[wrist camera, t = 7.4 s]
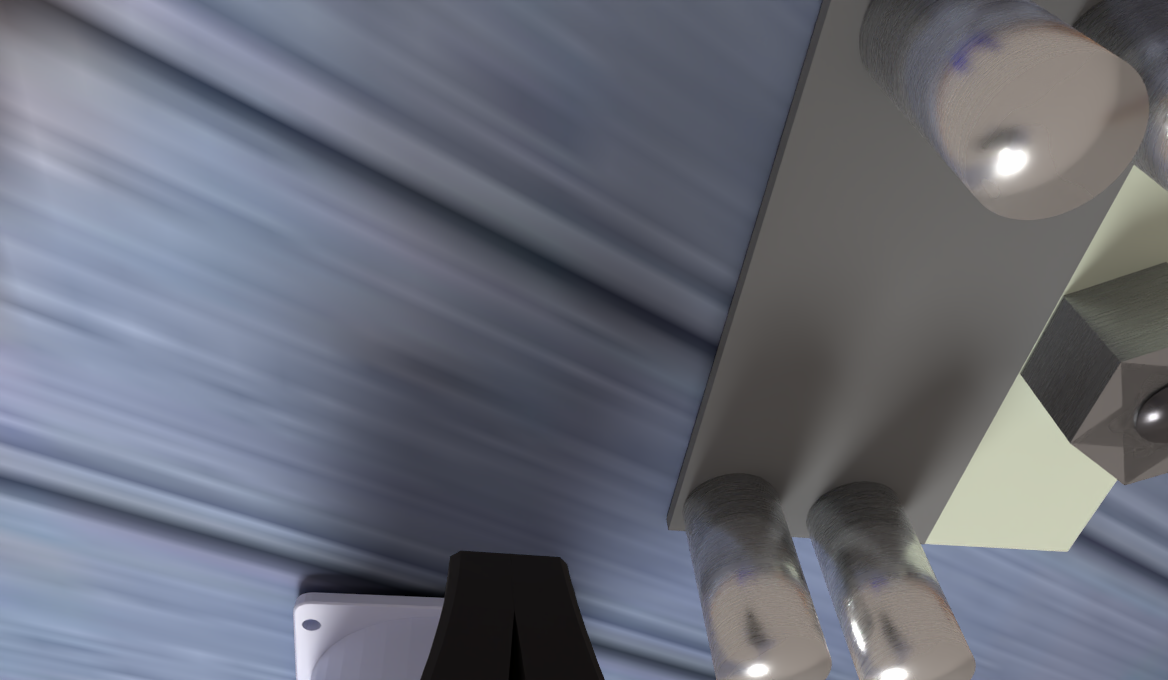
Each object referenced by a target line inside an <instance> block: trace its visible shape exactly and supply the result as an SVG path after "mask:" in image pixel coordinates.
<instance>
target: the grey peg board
mask: <svg viewBox="0 0 1168 680" xmlns="http://www.w3.org/2000/svg"><path fill="white" fill-rule="evenodd" d="M859 51H860V57H861V60H862V63H863V65H864V68H865V70H866V71H867V73H868V74H869V76H870V77H871V78H872V79H873V81H874V82H875V83H876V84H877V85H878V86H879V87H880V89H881V90H882V91H883V92H884V93H885V94H886V95H887V97H888V98H889V99H890V100H891V101H892V102H893V103H894V105H895V106H896V107H897V108H898V109H899V110H900V111H901V113H902V114H903V115H904V116H905V117H906V118H907V119H908V121H909V122H910V123H911V124H912V125H913V126H914V127H915V129H916V130H917V131H918V132H919V133H920V134H921V135H922V137H923V138H924V139H925V140H926V141H927V142H928V143H929V145H930V146H931V147H932V148H933V149H934V150H935V151H936V153H937V154H938V155H939V156H940V157H941V158H942V159H943V161H944V162H945V163H946V164H947V165H948V166H949V167H950V169H951V170H952V171H953V172H954V173H955V174H956V175H957V177H958V178H959V179H960V180H961V181H962V182H963V183H964V185H965V186H966V187H967V188H968V189H969V190H970V191H971V193H972V194H973V195H974V196H975V197H976V198H977V199H978V201H979V202H980V203H981V204H982V205H983V206H985V207H986V208H987V209H989V210H990V211H992V212H994V213H996V214H998V215H1000V216H1003V217H1006V218H1011V219H1016V220H1038V219H1044V218H1050V217H1053V216H1057V215H1060V214H1063V213H1065V212H1068V211H1071V210H1073V209H1075V208H1077V207H1079V206H1081V205H1083V204H1085V203H1086V202H1088V201H1089V200H1091V199H1093V198H1094V197H1096V196H1097V195H1098V194H1100V193H1101V192H1102V191H1104V190H1105V189H1106V188H1107V187H1108V186H1109V185H1110V184H1111V183H1113V182H1114V181H1115V180H1116V179H1117V177H1118V176H1119V175H1120V174H1121V173H1122V172H1123V171H1124V170H1125V168H1126V167H1127V166H1128V164H1129V163H1130V162H1131V163H1132V164H1134V165H1135V166H1136V167H1137V168H1139V169H1140V170H1141V171H1142V172H1144V173H1145V174H1146V175H1147V176H1149V177H1150V178H1151V179H1152V180H1154V181H1155V182H1156V183H1157V184H1159V185H1160V186H1161V187H1162V188H1164V189H1165V190H1166V191H1167V192H1168V0H1102V1H1100V2H1098V3H1097V4H1096V5H1094V6H1093V7H1091V8H1090V9H1089V10H1088V11H1087V12H1085V13H1084V14H1083V15H1082V16H1081V17H1080V18H1079V19H1078V20H1077V21H1076V22H1075V23H1074V25H1073V26H1070V25H1068V24H1067V23H1065V22H1064V21H1062V20H1061V19H1059V18H1058V17H1056V16H1055V15H1053V14H1052V13H1050V12H1048V11H1047V10H1045V9H1044V8H1042V7H1041V6H1039V5H1038V4H1036V3H1035V2H1033V1H1031V0H871V2H870V4H869V6H868V8H867V10H866V12H865V14H864V17H863V20H862V23H861V27H860V33H859ZM682 514H683V520H684V525H685V530H686V535H687V539H688V544H689V549H690V554H691V559H692V563H693V568H694V573H695V578H696V583H697V588H698V592H699V597H700V602H701V607H702V612H703V616H704V621H705V626H706V631H707V636H708V641H709V645H710V650H711V655H712V660H713V665H714V669H715V674H716V679H717V680H825V679H826V678H827V676H828V674H829V672H830V670H831V665H832V664H831V657H830V654H829V651H828V648H827V645H826V642H825V639H824V636H823V632H822V629H821V626H820V623H819V620H818V617H817V614H816V611H815V608H814V605H813V602H812V599H811V596H810V593H809V590H808V587H807V583H806V580H805V577H804V574H803V571H802V568H801V565H800V562H799V559H798V556H797V553H796V550H795V547H794V544H793V541H792V537H791V534H790V531H789V528H788V525H787V522H786V519H785V516H784V513H783V510H782V507H781V504H780V501H779V498H778V495H777V492H776V490H775V488H774V487H773V486H772V485H771V484H770V483H769V482H768V481H766V480H765V479H763V478H761V477H758V476H755V475H751V474H745V473H732V474H725V475H721V476H717V477H714V478H712V479H709V480H707V481H705V482H704V483H702V484H700V485H699V486H698V487H696V488H695V489H694V490H693V491H692V492H691V493H690V494H689V496H688V497H687V499H686V500H685V503H684V505H683V511H682ZM806 527H807V530H808V533H809V536H810V539H811V542H812V545H813V547H814V550H815V553H816V556H817V559H818V562H819V565H820V568H821V570H822V573H823V576H824V579H825V582H826V585H827V588H828V591H829V593H830V596H831V599H832V602H833V605H834V608H835V611H836V614H837V617H838V619H839V622H840V625H841V628H842V631H843V634H844V637H845V640H846V642H847V645H848V648H849V651H850V654H851V657H852V660H853V663H854V665H855V668H856V671H857V674H858V677H859V680H970V679H971V678H972V676H973V674H974V671H975V666H976V665H975V660H974V657H973V655H972V653H971V651H970V649H969V646H968V644H967V642H966V640H965V638H964V636H963V634H962V632H961V629H960V627H959V625H958V623H957V621H956V619H955V617H954V614H953V612H952V610H951V608H950V606H949V604H948V602H947V600H946V597H945V595H944V593H943V591H942V589H941V587H940V585H939V583H938V580H937V578H936V576H935V574H934V572H933V570H932V568H931V566H930V563H929V561H928V559H927V557H926V555H925V553H924V551H923V548H922V546H921V544H920V542H919V540H918V538H917V536H916V534H915V531H914V529H913V527H912V525H911V523H910V521H909V519H908V517H907V514H906V512H905V510H904V508H903V506H902V504H901V502H900V499H899V497H898V496H897V494H896V493H895V492H894V491H893V490H892V489H891V488H889V487H887V486H886V485H883V484H880V483H876V482H868V481H862V482H853V483H848V484H844V485H841V486H839V487H836V488H834V489H832V490H830V491H828V492H827V493H825V494H824V495H822V496H821V497H820V498H819V499H818V500H817V501H816V502H815V503H814V504H813V505H812V507H811V508H810V510H809V512H808V514H807V518H806Z"/></svg>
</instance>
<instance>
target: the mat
mask: <svg viewBox="0 0 1168 680" xmlns="http://www.w3.org/2000/svg"><path fill="white" fill-rule="evenodd" d="M1031 1H1033V2H1035V3H1036V4H1038V5H1039V6H1041V7H1042V8H1044V9H1045V10H1047V11H1048V12H1050V13H1052V14H1053V15H1055V16H1056V17H1058V18H1059V19H1061V20H1062V21H1064V22H1065V23H1067V24H1068V25H1070V26H1073V25H1074V23H1075V22H1076V21H1077V20H1078V19H1079V18H1080V17H1081V16H1082V15H1083V14H1084V13H1085V12H1087V11H1088V10H1089V9H1090V8H1091V7H1093V6H1094V5H1096V4H1097V3H1098V2H1100V1H1102V0H1031ZM870 2H871V0H823V2H822V5H821V9H820V12H819V15H818V19H817V22H816V25H815V29H814V32H813V35H812V39H811V42H810V45H809V49H808V52H807V55H806V58H805V62H804V65H803V68H802V72H801V75H800V78H799V82H798V85H797V88H796V92H795V95H794V98H793V102H792V105H791V108H790V111H789V115H788V118H787V121H786V125H785V128H784V131H783V135H782V138H781V141H780V145H779V148H778V151H777V154H776V158H775V161H774V164H773V168H772V171H771V174H770V178H769V181H768V184H767V188H766V191H765V194H764V198H763V201H762V204H761V207H760V211H759V214H758V217H757V221H756V224H755V227H754V231H753V234H752V237H751V241H750V244H749V247H748V250H747V254H746V257H745V260H744V264H743V267H742V270H741V274H740V277H739V280H738V284H737V287H736V290H735V294H734V297H733V300H732V303H731V307H730V310H729V313H728V317H727V320H726V323H725V327H724V330H723V333H722V337H721V340H720V343H719V347H718V350H717V353H716V356H715V360H714V363H713V366H712V370H711V373H710V376H709V380H708V383H707V386H706V390H705V393H704V396H703V399H702V403H701V406H700V409H699V413H698V416H697V419H696V423H695V426H694V429H693V433H692V436H691V439H690V443H689V446H688V449H687V452H686V456H685V459H684V462H683V466H682V469H681V472H680V476H679V479H678V482H677V486H676V489H675V492H674V496H673V499H672V502H671V505H670V509H669V512H668V515H667V519H666V520H667V525H668V530H675V531H686V530H685V525H684V520H683V514H682V511H683V505H684V503H685V500H686V499H687V497H688V496H689V494H690V493H691V492H692V491H693V490H694V489H695V488H696V487H698V486H699V485H700V484H702V483H704V482H705V481H707V480H709V479H712V478H714V477H717V476H721V475H725V474H732V473H745V474H751V475H755V476H758V477H761V478H763V479H765V480H766V481H768V482H769V483H770V484H771V485H772V486H773V487H774V488H775V490H776V492H777V495H778V498H779V501H780V504H781V507H782V510H783V513H784V516H785V519H786V522H787V525H788V528H789V531H790V534H791V537H802V538H810V536H809V533H808V530H807V527H806V518H807V514H808V512H809V510H810V508H811V507H812V505H813V504H814V503H815V502H816V501H817V500H818V499H819V498H820V497H821V496H822V495H824V494H825V493H827V492H828V491H830V490H832V489H834V488H836V487H839V486H841V485H844V484H848V483H853V482H862V481H868V482H876V483H880V484H883V485H886V486H887V487H889V488H891V489H892V490H893V491H894V492H895V493H896V494H897V496H898V497H899V499H900V502H901V504H902V506H903V508H904V510H905V512H906V514H907V517H908V519H909V521H910V523H911V525H912V527H913V529H914V531H915V534H916V536H917V538H918V540H919V542H920V544H938V545H956V546H974V547H992V548H1010V549H1028V550H1046V551H1064V552H1068V550H1069V549H1070V547H1071V546H1072V544H1073V543H1074V541H1075V540H1076V539H1077V537H1078V536H1079V534H1080V533H1081V531H1082V530H1083V528H1084V527H1085V526H1086V524H1087V523H1088V521H1089V520H1090V518H1091V517H1092V515H1093V514H1094V513H1095V511H1096V510H1097V508H1098V507H1099V505H1100V504H1101V502H1102V501H1103V500H1104V498H1105V497H1106V495H1107V494H1108V492H1109V491H1110V489H1111V488H1112V487H1113V485H1114V484H1115V482H1116V481H1117V479H1116V478H1115V477H1113V476H1112V475H1111V474H1109V473H1108V472H1107V471H1105V470H1104V469H1103V468H1102V467H1100V466H1099V465H1098V464H1096V463H1095V462H1094V461H1092V460H1091V459H1090V458H1089V457H1087V456H1086V455H1085V454H1083V453H1082V452H1081V451H1079V450H1078V449H1077V448H1076V447H1074V446H1073V445H1072V444H1070V443H1069V441H1068V440H1067V438H1066V437H1065V436H1064V434H1063V433H1062V431H1061V430H1060V429H1059V427H1058V426H1057V425H1056V423H1055V422H1054V420H1053V419H1052V418H1051V416H1050V415H1049V413H1048V412H1047V411H1046V409H1045V408H1044V407H1043V405H1042V404H1041V402H1040V401H1039V400H1038V398H1037V397H1036V395H1035V394H1034V393H1033V391H1032V390H1031V388H1030V387H1029V386H1028V384H1027V383H1026V382H1025V380H1024V379H1023V377H1022V376H1021V375H1020V372H1021V371H1022V369H1023V367H1024V365H1025V363H1026V362H1027V360H1028V358H1029V356H1030V354H1031V352H1032V351H1033V349H1034V347H1035V345H1036V343H1037V342H1038V340H1039V338H1040V336H1041V334H1042V333H1043V331H1044V329H1045V327H1046V325H1047V324H1048V322H1049V320H1050V318H1051V316H1052V315H1053V313H1054V311H1055V309H1056V307H1057V305H1058V304H1059V302H1060V300H1061V298H1062V296H1064V295H1067V294H1070V293H1073V292H1076V291H1079V290H1082V289H1085V288H1088V287H1091V286H1094V285H1097V284H1100V283H1103V282H1106V281H1109V280H1112V279H1115V278H1118V277H1121V276H1124V275H1128V274H1131V273H1134V272H1137V271H1140V270H1143V269H1146V268H1149V267H1152V266H1155V265H1158V264H1161V263H1164V262H1167V263H1168V192H1167V191H1166V190H1165V189H1164V188H1162V187H1161V186H1160V185H1159V184H1157V183H1156V182H1155V181H1154V180H1152V179H1151V178H1150V177H1149V176H1147V175H1146V174H1145V173H1144V172H1142V171H1141V170H1140V169H1139V168H1137V167H1136V166H1135V165H1134V164H1132V163H1131V162H1130V163H1129V164H1128V166H1127V167H1126V168H1125V170H1124V171H1123V172H1122V173H1121V174H1120V175H1119V176H1118V177H1117V179H1116V180H1115V181H1114V182H1113V183H1111V184H1110V185H1109V186H1108V187H1107V188H1106V189H1105V190H1104V191H1102V192H1101V193H1100V194H1098V195H1097V196H1096V197H1094V198H1093V199H1091V200H1089V201H1088V202H1086V203H1085V204H1083V205H1081V206H1079V207H1077V208H1075V209H1073V210H1071V211H1068V212H1065V213H1063V214H1060V215H1057V216H1053V217H1050V218H1044V219H1038V220H1016V219H1011V218H1006V217H1003V216H1000V215H998V214H996V213H994V212H992V211H990V210H989V209H987V208H986V207H985V206H983V205H982V204H981V203H980V202H979V201H978V199H977V198H976V197H975V196H974V195H973V194H972V193H971V191H970V190H969V189H968V188H967V187H966V186H965V185H964V183H963V182H962V181H961V180H960V179H959V178H958V177H957V175H956V174H955V173H954V172H953V171H952V170H951V169H950V167H949V166H948V165H947V164H946V163H945V162H944V161H943V159H942V158H941V157H940V156H939V155H938V154H937V153H936V151H935V150H934V149H933V148H932V147H931V146H930V145H929V143H928V142H927V141H926V140H925V139H924V138H923V137H922V135H921V134H920V133H919V132H918V131H917V130H916V129H915V127H914V126H913V125H912V124H911V123H910V122H909V121H908V119H907V118H906V117H905V116H904V115H903V114H902V113H901V111H900V110H899V109H898V108H897V107H896V106H895V105H894V103H893V102H892V101H891V100H890V99H889V98H888V97H887V95H886V94H885V93H884V92H883V91H882V90H881V89H880V87H879V86H878V85H877V84H876V83H875V82H874V81H873V79H872V78H871V77H870V76H869V74H868V73H867V71H866V70H865V68H864V65H863V63H862V60H861V57H860V51H859V33H860V27H861V23H862V20H863V17H864V14H865V12H866V10H867V8H868V6H869V4H870Z"/></svg>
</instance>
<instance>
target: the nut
mask: <svg viewBox="0 0 1168 680" xmlns="http://www.w3.org/2000/svg"><path fill="white" fill-rule="evenodd" d="M1020 375H1021V376H1022V377H1023V379H1024V380H1025V382H1026V383H1027V384H1028V386H1029V387H1030V388H1031V390H1032V391H1033V393H1034V394H1035V395H1036V397H1037V398H1038V400H1039V401H1040V402H1041V404H1042V405H1043V407H1044V408H1045V409H1046V411H1047V412H1048V413H1049V415H1050V416H1051V418H1052V419H1053V420H1054V422H1055V423H1056V425H1057V426H1058V427H1059V429H1060V430H1061V431H1062V433H1063V434H1064V436H1065V437H1066V438H1067V440H1068V441H1069V443H1070V444H1072V445H1073V446H1074V447H1076V448H1077V449H1078V450H1079V451H1081V452H1082V453H1083V454H1085V455H1086V456H1087V457H1089V458H1090V459H1091V460H1092V461H1094V462H1095V463H1096V464H1098V465H1099V466H1100V467H1102V468H1103V469H1104V470H1105V471H1107V472H1108V473H1109V474H1111V475H1112V476H1113V477H1115V478H1116V479H1117V480H1118V481H1120V482H1121V483H1122V484H1124V485H1127V484H1131V483H1134V482H1137V481H1141V480H1144V479H1148V478H1151V477H1154V476H1158V475H1161V474H1165V473H1168V263H1167V262H1164V263H1161V264H1158V265H1155V266H1152V267H1149V268H1146V269H1143V270H1140V271H1137V272H1134V273H1131V274H1128V275H1124V276H1121V277H1118V278H1115V279H1112V280H1109V281H1106V282H1103V283H1100V284H1097V285H1094V286H1091V287H1088V288H1085V289H1082V290H1079V291H1076V292H1073V293H1070V294H1067V295H1064V296H1062V298H1061V300H1060V302H1059V304H1058V305H1057V307H1056V309H1055V311H1054V313H1053V315H1052V316H1051V318H1050V320H1049V322H1048V324H1047V325H1046V327H1045V329H1044V331H1043V333H1042V334H1041V336H1040V338H1039V340H1038V342H1037V343H1036V345H1035V347H1034V349H1033V351H1032V352H1031V354H1030V356H1029V358H1028V360H1027V362H1026V363H1025V365H1024V367H1023V369H1022V371H1021V372H1020Z"/></svg>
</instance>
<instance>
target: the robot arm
mask: <svg viewBox="0 0 1168 680" xmlns="http://www.w3.org/2000/svg"><path fill="white" fill-rule="evenodd" d="M293 619H294V641H295V663H296V680H605V679H604V677H603V674H602V672H601V669H600V667H599V664H598V661H597V659H596V656H595V653H594V650H593V648H592V645H591V642H590V639H589V637H588V634H587V631H586V628H585V625H584V622H583V619H582V616H581V613H580V610H579V606H578V603H577V600H576V597H575V593H574V590H573V586H572V582H571V579H570V575H569V571H568V566H567V564H566V563H565V562H564V561H563V560H562V559H561V558H560V557H549V556H534V555H518V554H503V553H488V552H473V551H459V552H458V553H456V554H454V555H452V556H450V562H449V569H448V577H447V584H446V591H445V598H437V597H414V596H390V595H367V594H343V593H320V592H310V593H305V594H302V595H300V596H299V597H298V598H297V599H296V602H295V606H294V610H293Z"/></svg>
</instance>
